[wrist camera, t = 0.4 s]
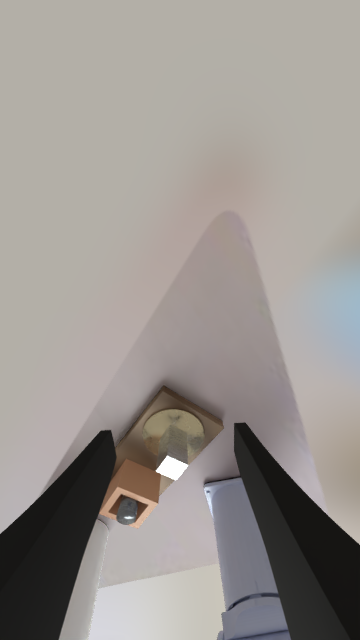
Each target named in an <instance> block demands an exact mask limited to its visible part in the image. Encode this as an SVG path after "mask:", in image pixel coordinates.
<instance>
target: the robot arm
mask: <svg viewBox="0 0 360 640" xmlns="http://www.w3.org/2000/svg"><path fill="white" fill-rule="evenodd" d="M234 452H235V456H236V460H237V464H238V468H239V472H240V475H241V478H235V479H230V480H224V481H219V482H213V483H207V484H205V485H204V492H205V495H206V498H207V501H208V505H209V508H210V511H211V514H212V518H213V521H214V527H215V534H216V542H217V549H218V557H219V564H220V571H221V579H222V586H223V593H224V601H225V608H226V612H223V613H222V614H221V615H222V622H223V631H220V632H219V633H218V637H217V640H360V545H359V544H358V543H357V542H356V541H355V540H354V539H353V538H351V537H350V536H349V535H348V534H347V533H346V532H345V531H344V530H343V529H342V528H340V527H339V526H338V525H337V524H336V523H335V522H334V521H333V520H332V519H331V518H330V517H329V516H328V515H327V514H326V513H325V512H324V511H323V510H322V509H321V508H320V507H319V506H318V505H317V504H316V503H315V502H314V501H313V500H312V499H311V498H310V497H309V496H308V495H307V494H306V493H305V492H304V491H303V490H302V489H301V488H300V487H299V486H298V485H297V484H296V483H295V482H294V480H293V479H292V478H291V477H290V476H289V475H288V474H287V473H286V472H285V471H284V469H283V468H282V467H281V466H280V465H279V464H278V463H277V461H276V460H275V459H274V458H273V457H272V456H271V454H270V453H269V452H268V451H267V450H266V448H265V447H264V446H263V445H262V443H261V442H260V441H259V440H258V438H257V437H256V436H255V434H254V433H253V432H252V431H251V429H250V428H249V426H248V425H247V424H246V423H234ZM116 459H117V456H116V451H115V446H114V442H113V437H112V432H111V430H105V431H100V432H99V433H98V434H97V436H96V437H95V438H94V439H93V440H92V441H91V442H90V443H89V445H88V446H87V447H86V448H85V449H84V450H83V451H82V452H81V454H80V455H79V456H78V457H77V458H76V459H75V460H74V461H73V462H72V463H71V465H70V466H69V467H68V468H67V469H66V470H65V471H64V472H63V473H62V474H61V475H60V477H59V478H58V479H57V480H56V481H55V482H54V483H53V484H52V485H51V486H50V487H49V488H48V489H47V490H46V491H45V492H44V493H43V494H42V495H41V496H40V497H39V498H38V499H37V500H36V501H35V502H34V503H33V504H32V505H31V506H30V507H29V508H28V509H27V510H26V511H25V512H24V513H23V514H22V515H21V516H20V517H18V518H17V519H16V520H15V521H14V522H13V523H12V524H11V525H10V526H9V527H8V528H7V529H6V530H4V531H3V532H2V533H1V534H0V640H59V637H60V634H61V630H62V627H63V623H64V620H65V616H66V613H67V609H68V606H69V602H70V599H71V595H72V592H73V589H74V585H75V582H76V579H77V575H78V572H79V569H80V565H81V562H82V559H83V556H84V553H85V550H86V547H87V544H88V541H89V538H90V536H91V533H92V530H93V527H94V525H95V522H96V519H97V517H98V514H99V511H100V508H101V506H102V503H103V500H104V498H105V495H106V492H107V489H108V487H109V484H110V481H111V477H112V474H113V470H114V466H115V462H116Z"/></svg>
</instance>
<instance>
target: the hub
mask: <svg viewBox="0 0 360 640" xmlns="http://www.w3.org/2000/svg"><path fill="white" fill-rule="evenodd" d="M143 440H144V443H145V445H146V446H147V448H148V449H149V450H150V451H151V452H152V453H154V454H155V455H157V456H158V459H157V467H156V472H158V473H161V474H163V475H165V476H168V477H170V478H172V479H174V480H177V479H178V477H179V476H180V475H181V474H182V472H183V471H184V470H185V469H186V467H187V466H188V456H190V455H192V454H194V453H195V452H196V451H197V450H198V449H199V448H200V447H201V445H202V443H203V441H204V428H203V426H202V424H201V422H200V421H199V419H198V418H197V417H196V416H194V415H193V414H191V413H190V412H188V411H185V410H181V409H165V410H161V411H159V412H157V413H155V414H153V415H152V416H151V417H150V418H149V419H148V420H147V421H146V423H145V425H144V428H143Z"/></svg>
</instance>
